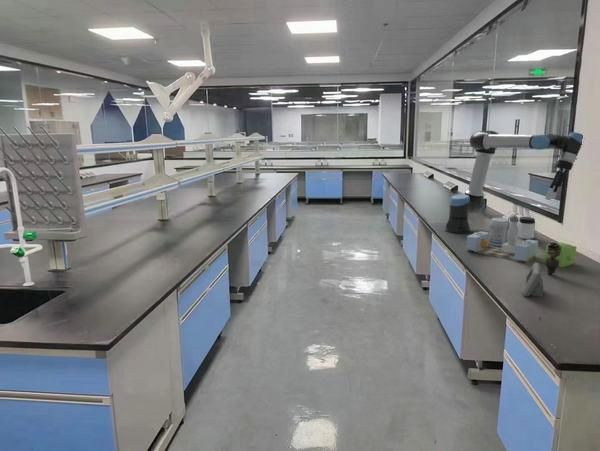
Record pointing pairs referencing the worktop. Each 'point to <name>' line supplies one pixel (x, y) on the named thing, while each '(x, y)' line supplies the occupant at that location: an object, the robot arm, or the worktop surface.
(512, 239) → the white stand
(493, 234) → the supplement tub
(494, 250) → the rail bench
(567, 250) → the lime green rounded box
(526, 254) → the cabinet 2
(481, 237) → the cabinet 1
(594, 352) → the worktop surface
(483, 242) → the gauge plunger
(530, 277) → the gray robed figurine
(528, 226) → the jar
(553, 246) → the dark brown figurine
